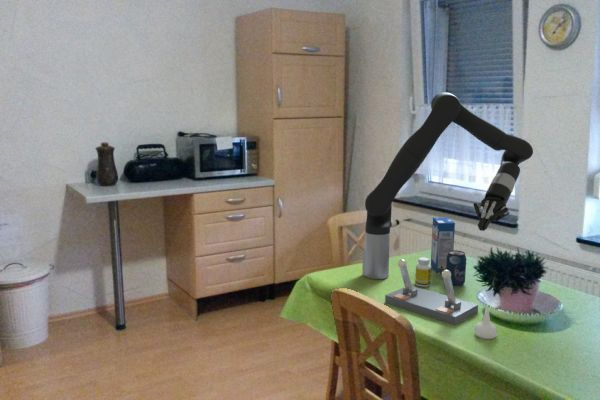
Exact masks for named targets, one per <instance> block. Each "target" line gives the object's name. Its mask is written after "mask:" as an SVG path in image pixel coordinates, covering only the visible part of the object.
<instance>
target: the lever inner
mask: <svg viewBox="0 0 600 400" xmlns="http://www.w3.org/2000/svg"><path fill="white" fill-rule="evenodd" d="M397 265H398V267H399V271H400V274H401V278H402V281H403V284H404V287H405V289H406V292H408V293H411V290H413V288H412V286H413V284H412V282H411V277H410V274H409V271H408V267H407V261H406V260H405V259H400V260H398V261H397Z"/></svg>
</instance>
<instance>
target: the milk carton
mask: <svg viewBox="0 0 600 400" xmlns="http://www.w3.org/2000/svg"><path fill="white" fill-rule="evenodd" d="M455 225H456V223H455V222H454V221H453V219H451V218H449V217H432V228H431V229H432V230H431V231H432V232H431V251H430V254H431V255H430V266H431V269H433V271H434V272H435V273H436V274H442V272H443V271H444V270H446V260H447V255H448V253H449V251H453V250H454V249H455V248H454V247H455V246H454V245H455V227H456V226H455Z"/></svg>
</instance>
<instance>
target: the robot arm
mask: <svg viewBox="0 0 600 400" xmlns="http://www.w3.org/2000/svg"><path fill="white" fill-rule="evenodd" d="M430 108H431V111H430V113H429V115H428V116H427V118H426V119H425V121H424V123H423V124H422V125H421V126H420V127H419V128H418V129H417V130H416V131H415V132H414V133H413V134H412V135H410V136H409V137H408V139H407V140H406V141H405V142H404V143H403V145H402V146H401V147H400V149H399V150H398V152H397V153H396V155H395V157H394V158H393V160H392V162H391V163H390V165H389V167H388V169H387V171H386V173H385V175H384V176H383V178H382V179H381V181H380V182H379V183H378V184H377V185H376V186H375V188H374V189H373V190H372V191H370V193H369V194H368V195H367V196H366V198H365V201H364V202H365V203H364V206H365V207H364V208H365V210H366V222H365V232H364V234H365V236H364V237H365V242H364V249H363V250H362V270H361V271H362V273H361V274H362V275H363V276H364V277H365V278H368V279H372V280H385V279H387V278H389V275H390V249H391V248H390V246H391V244H390V243H391V242H390V240H391V223H392V211H393V210H392V205H393V204H392V203H393V201H394V200H395V198H396V197H397V195H398V193H399V192H400V190H401V189H402V188H403V187H404V185H406V183H407V182H408V181H409V180H410V179H411V178H412V177H413V176H414V175H415V173H416V172H417V171H418V170H419V168H420V166H422V164H423V163H424V161H425V160H426V158H427V156H428V155H429V153H431V150H432V149H433V147H434V146H435V144H436V143H437V141H438V140H439V137H441V135H442V134H443V133H444V132H445V131H446V130H447V128H448V127H449V126H450V125H451V123H453V124H456V125H458V126H459V127H461V128H463V129H464V130H465V131H467V132H468V133H469V134H471V135H472V136H473V137H475V138H476V139H477V140H479V141H480V142H481V143H483V144H485V145H486V146H488V147H489V148H491V149H492V150H494V151H497V152H498V151H499V152H500V151H504V152H503V153H502V156H501V159H500V166H499V168H498V170H497V171H496V174H495V176H494V177H493V178H492V180H491V182H490V185H489V186H488V188H487V191H486V192H485V195H484V198H482V199H481V201H480V202H479V203H477V202H474V203H473V208H474V210H475V213H476V216H477V217H478V219H479V222H478V223H477V228H478V230H479V231H481V232H485V230H487V229H488V228H489V226H490V223H493V222H494V223H496V222H499V221H500V220H502V219H503V218H505V217H507V216H509V215H510V214H511V213H510V210H509V208H508V207H507V203H508V201H509V199H510V197H511V195H512V193H513V191H514V189H515V185H516V183H517V180H518V179H519V175H520V173H521V168H520V166H519V165H520V164H521V163H523V162H525V161H527V160H529V159H530V158H531V157H532V156H533V154H534V149H533V146H532V145H531V144H530V143H529V141H527V140H526V139H523V138H522V137H518V136H515V135H512V134H510V133H507V132H505V131H504V130H502V129H500V128H499V127H497V126H496V125H494V124H493V123H491V122H490V121H488V120H485V119H483V118H482V117H480V116H478V115H477V114H476V113H473V112H472V111H470V110H469V109H467V108H466V107H465V106H464V105H463V104H461V101H460V99H459V97H457V96H455V95H454V94H452V93H451V92H445V91H444V92H439V93H437V94H435V95H434V96H433V98H432V99H431V103H430ZM481 210H482V212H481Z"/></svg>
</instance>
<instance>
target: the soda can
mask: <svg viewBox="0 0 600 400" xmlns="http://www.w3.org/2000/svg"><path fill="white" fill-rule="evenodd" d="M446 270H449V271H450V272H451V281H452V286H453V287H463V285H464V284H465V282H466V274H467V273H466V270H467V256H466V252H465V251H462V250H456V249H455V250H453V251H449V253H448V255H447V260H446Z"/></svg>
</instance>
